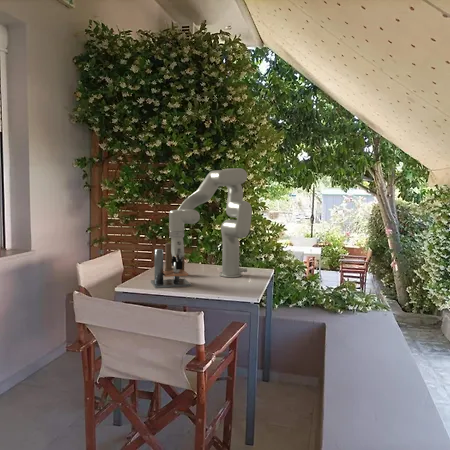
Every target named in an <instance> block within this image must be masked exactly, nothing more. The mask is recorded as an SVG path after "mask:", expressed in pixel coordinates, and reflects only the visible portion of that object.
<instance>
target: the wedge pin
mask: <svg viewBox="0 0 450 450" xmlns="http://www.w3.org/2000/svg"><path fill="white" fill-rule="evenodd" d="M173 268H174V273H180V269H176V262H174V266H173ZM180 277H181V276H173V279H174V282H175V283H178V282H179V280H180V279H181V278H180Z"/></svg>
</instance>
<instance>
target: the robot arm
mask: <svg viewBox="0 0 450 450" xmlns="http://www.w3.org/2000/svg"><path fill="white" fill-rule="evenodd" d="M247 180H248V173H247V171H246V170H245V169H244V168H241V167H240V168H238V167H236V168H231V167H230V168H225V169H219V170H218V169H216V170H210V171H209V173H207V175H206V176H205V178H204V179H203V181H202V182H201V183H200V185H199V187H198V188H197V189H196V191H194V192H193V193H192V194H191V195H189V196H187V197H186V198H185V199H184V201H182V203H181V204H180V206H179V207H178V208H177V209H173V210H172V209H171V210H170V211H169V213H168V216H169V217H168V222H169V225H168V227H169V228H168V229H169V231H168V232H169V238H170V243H171V254H172V267H174V262H176V269H182V257H184V258H185V245H184V238H185V225H186V224H189V225H193V224H194V225H195V224H197V223H198V222H199V221H200V219H201V218H200V212H198V211H197V210H196V209H195V208H197V207H198V206H200V205H202V204H205V203H208V202H209V201H211V199H212V197H213V196H214V194H215V193H216V191H217V190H218V189H219V187H226V188H227V200H226V205H225V206H226V208H225V212H226V215H227V216H228V217H230V218H236V219H227V220H224V221H223V222H222V223H221V226H220V232H221V240H222V249H221V250H222V252H221V253H222V254H221V255H222V258H221V259H222V261H221V262H222V263H221V265H222V266H221V267H222V268H221V269H222V271H221V272H219V276H220V277H222V278H239V277H240V278H241V277H242V275H243V274H242V273H247V272H248V269H247V268H242V267H240V241H239V239H245V238H247V236H248V235H249V234H250V229H251V224H252V216H253V209H252V205H251V204H250V202H248V201H245V200H243V198H244V190H243V186H242V184H244V183H246V181H247Z"/></svg>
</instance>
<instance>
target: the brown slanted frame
mask: <svg viewBox="0 0 450 450" xmlns="http://www.w3.org/2000/svg"><path fill="white" fill-rule="evenodd" d="M164 246H165V247H164V248H165V250H164V253H165V254H164V255H165V257H164V258H165V259H164V261H165V263H164V266H165V268H164V271H174V267H173V266H172V254H171V242H166V243H165V245H164ZM180 270H184V271H185V256H184V257H182V269H180Z"/></svg>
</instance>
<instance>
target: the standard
mask: <svg viewBox="0 0 450 450" xmlns="http://www.w3.org/2000/svg"><path fill="white" fill-rule="evenodd" d="M174 276H180V277H185V276H186V277H188V276H189V273H188V271H186V270H185V269H184V270H180V273H174V271H165V270H164V249H163V248H155V249H154V280H150V284H152V286H153V287H154V288H155V289H163V288H179V287H180V288H181V287H192V283H191V282H189V281H188V280H187V279H186V278H180V280H179V282H178V283H175V282H174V278H171V277H174ZM164 277H165V278H166V279H164ZM169 277H170V278H171V279H170V278H169ZM167 278H169V279H167Z"/></svg>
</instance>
